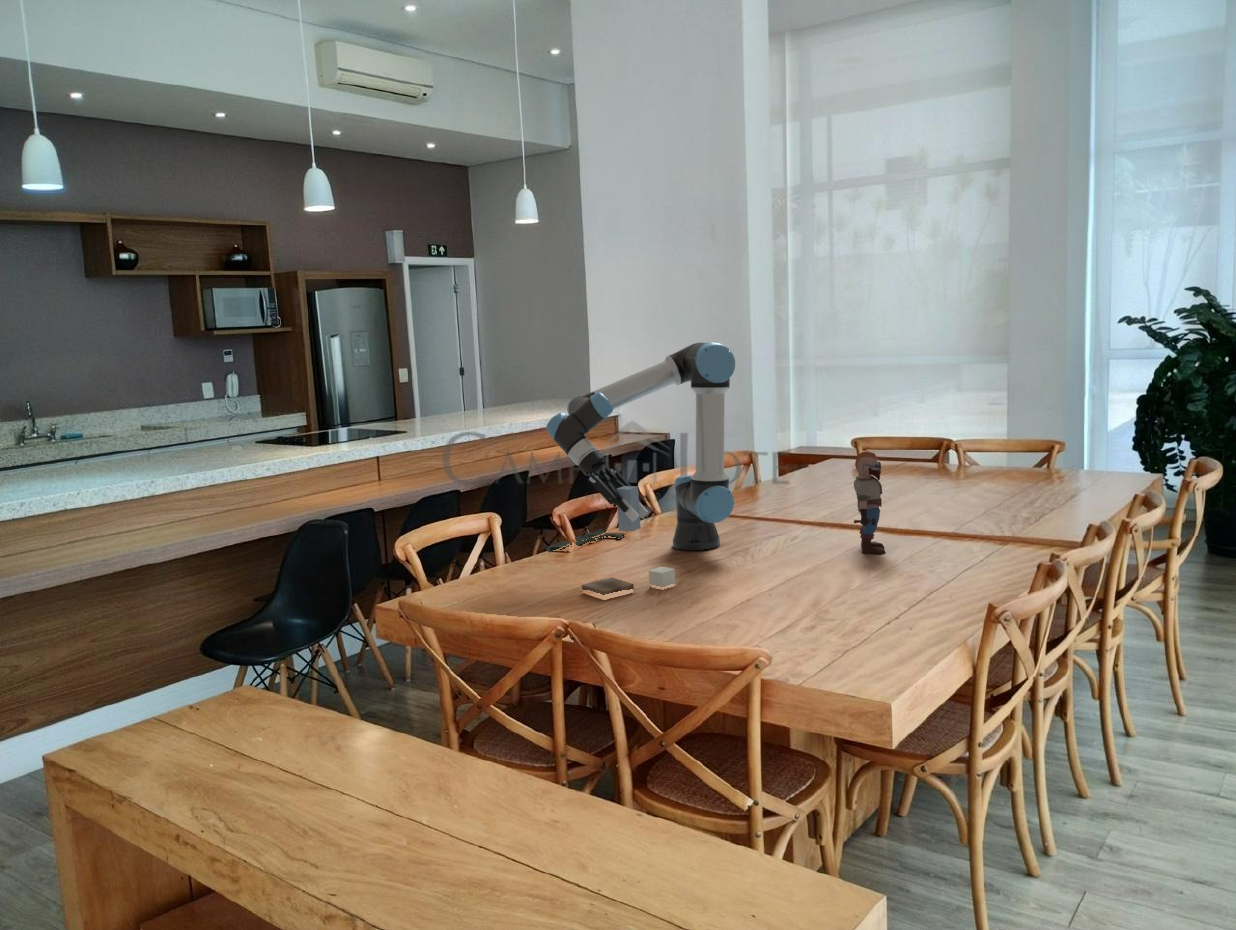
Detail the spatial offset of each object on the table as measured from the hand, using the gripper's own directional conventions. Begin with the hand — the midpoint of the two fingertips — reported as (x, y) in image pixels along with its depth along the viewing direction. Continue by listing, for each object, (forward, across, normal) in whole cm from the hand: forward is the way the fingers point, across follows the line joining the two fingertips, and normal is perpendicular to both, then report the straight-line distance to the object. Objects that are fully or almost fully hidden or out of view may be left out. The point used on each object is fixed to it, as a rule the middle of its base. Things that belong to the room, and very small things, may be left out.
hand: (640, 516), depth 277 cm
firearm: (-15, -34, -41) cm, 55 cm away
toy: (+48, -50, +23) cm, 73 cm away
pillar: (0, 0, -5) cm, 5 cm away
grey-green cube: (+19, +7, -6) cm, 21 cm away
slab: (+12, +17, -14) cm, 25 cm away
